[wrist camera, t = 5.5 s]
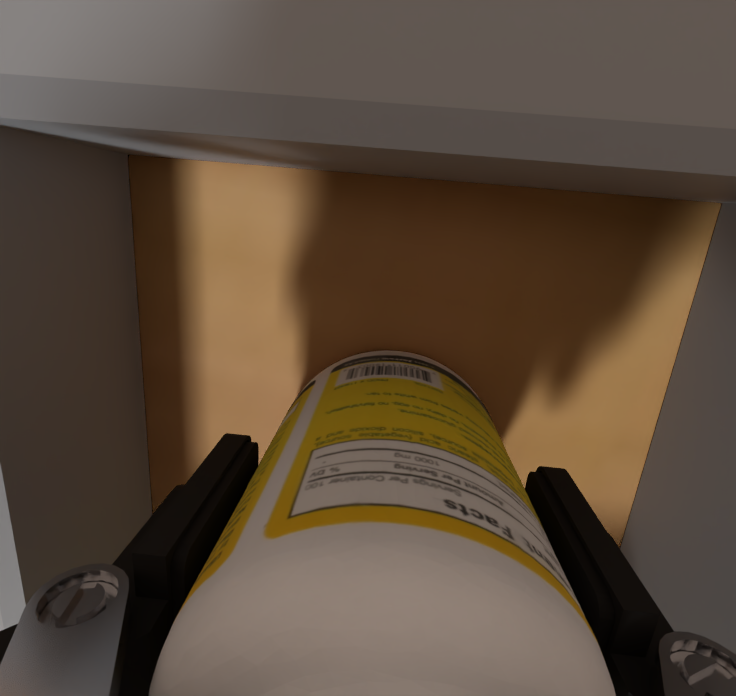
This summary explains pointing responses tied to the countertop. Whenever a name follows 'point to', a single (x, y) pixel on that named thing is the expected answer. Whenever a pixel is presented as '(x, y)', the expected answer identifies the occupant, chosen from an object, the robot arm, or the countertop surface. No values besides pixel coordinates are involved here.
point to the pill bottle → (383, 557)
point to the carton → (354, 155)
